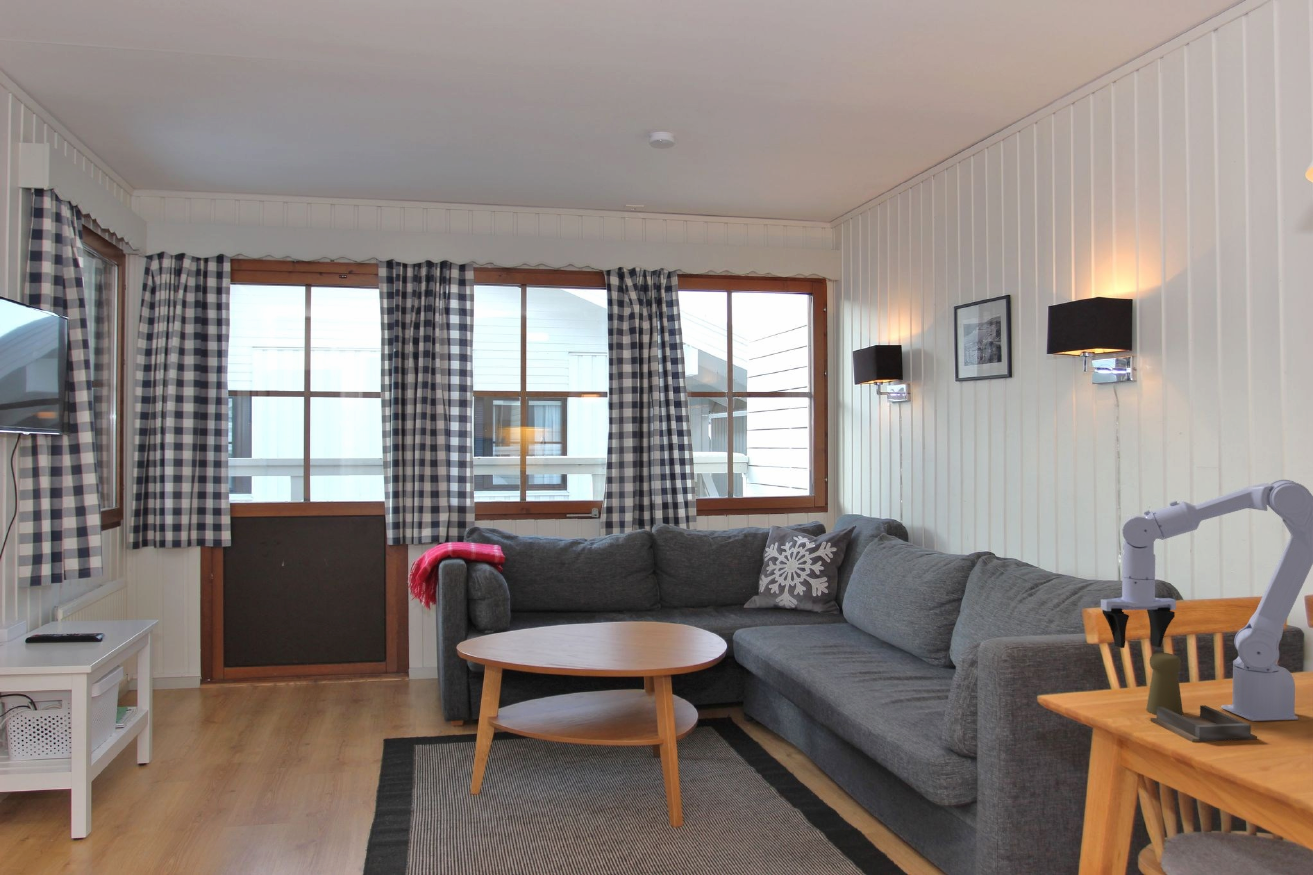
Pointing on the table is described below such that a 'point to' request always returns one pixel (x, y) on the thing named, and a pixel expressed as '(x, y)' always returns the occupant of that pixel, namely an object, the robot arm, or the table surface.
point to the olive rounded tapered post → (1165, 683)
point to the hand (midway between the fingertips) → (1137, 646)
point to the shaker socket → (1204, 725)
